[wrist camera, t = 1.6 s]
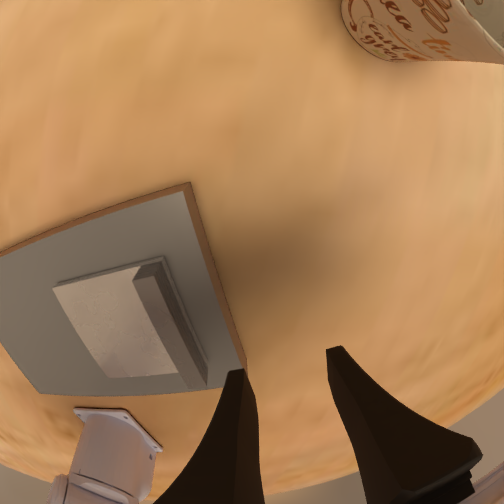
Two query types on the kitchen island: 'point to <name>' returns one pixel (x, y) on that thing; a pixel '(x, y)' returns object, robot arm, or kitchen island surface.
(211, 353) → the socket
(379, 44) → the mug
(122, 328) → the block
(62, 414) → the kitchen island surface
